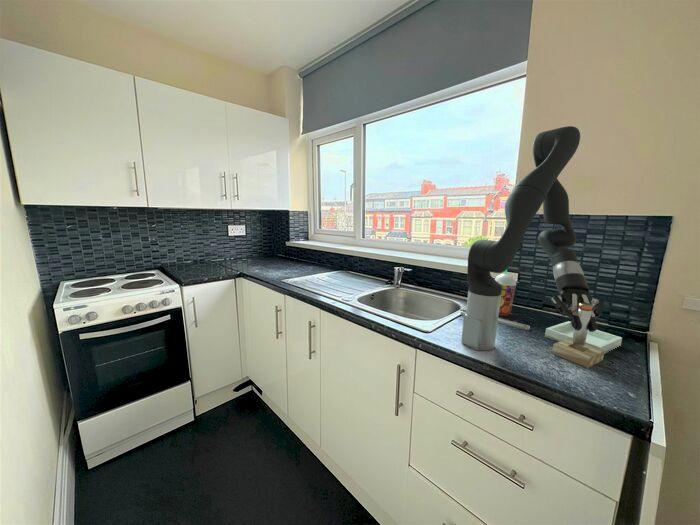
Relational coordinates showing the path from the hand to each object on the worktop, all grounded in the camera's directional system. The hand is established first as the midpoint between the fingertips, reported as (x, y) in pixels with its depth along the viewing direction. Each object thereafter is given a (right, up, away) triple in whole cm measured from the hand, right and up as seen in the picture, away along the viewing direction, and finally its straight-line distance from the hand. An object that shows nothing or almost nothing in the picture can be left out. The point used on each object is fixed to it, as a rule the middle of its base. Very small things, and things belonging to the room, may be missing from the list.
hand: (585, 330), depth 79 cm
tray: (+10, -7, +14) cm, 19 cm away
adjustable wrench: (-12, -4, +30) cm, 33 cm away
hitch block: (0, -9, +4) cm, 10 cm away
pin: (0, -5, +3) cm, 5 cm away
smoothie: (-4, -3, +38) cm, 38 cm away
